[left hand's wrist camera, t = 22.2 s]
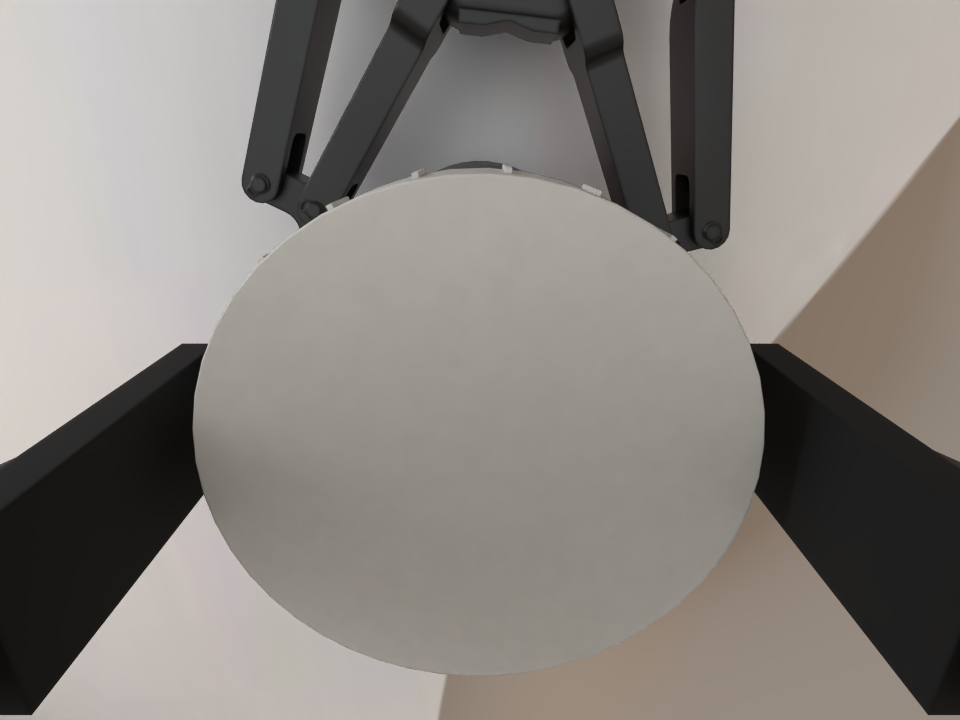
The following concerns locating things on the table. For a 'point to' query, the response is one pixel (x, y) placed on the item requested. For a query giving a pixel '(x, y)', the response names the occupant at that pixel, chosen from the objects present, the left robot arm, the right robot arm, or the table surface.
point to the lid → (478, 423)
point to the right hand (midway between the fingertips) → (468, 402)
